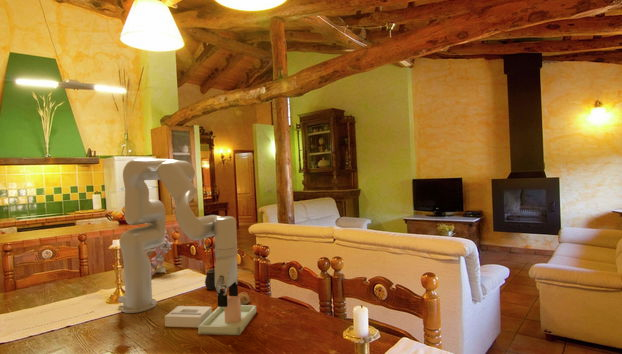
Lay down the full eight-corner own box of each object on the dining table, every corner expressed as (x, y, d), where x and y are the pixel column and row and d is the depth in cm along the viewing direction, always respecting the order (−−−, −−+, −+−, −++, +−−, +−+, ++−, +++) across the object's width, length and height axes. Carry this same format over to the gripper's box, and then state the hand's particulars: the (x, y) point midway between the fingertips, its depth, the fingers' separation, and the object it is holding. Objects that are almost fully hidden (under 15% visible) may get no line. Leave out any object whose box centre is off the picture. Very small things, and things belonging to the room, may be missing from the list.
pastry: (232, 310, 131) (231, 300, 131) (221, 306, 136) (221, 296, 136) (251, 302, 138) (251, 293, 138) (241, 299, 143) (240, 290, 143)
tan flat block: (224, 322, 119) (223, 299, 119) (227, 318, 122) (226, 296, 122) (238, 322, 119) (237, 299, 119) (241, 319, 121) (240, 296, 121)
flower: (119, 273, 181) (120, 233, 172) (160, 259, 199) (164, 222, 189) (136, 296, 171) (139, 255, 161) (178, 279, 188) (183, 241, 179)
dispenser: (165, 326, 119) (164, 315, 119) (178, 315, 128) (178, 305, 128) (200, 327, 117) (200, 316, 117) (211, 316, 126) (211, 305, 126)
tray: (198, 333, 113) (198, 326, 113) (220, 311, 130) (220, 304, 130) (239, 335, 111) (239, 327, 111) (256, 312, 128) (256, 305, 128)
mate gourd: (219, 284, 162) (218, 263, 162) (224, 288, 156) (223, 266, 156) (203, 287, 159) (202, 265, 158) (208, 292, 152) (207, 269, 152)
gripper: (225, 246, 129) (227, 292, 129) (205, 258, 112) (207, 310, 112) (245, 246, 128) (246, 292, 128) (227, 258, 111) (229, 311, 111)
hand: (228, 300), depth 120 cm, fingers open, 9 cm apart
